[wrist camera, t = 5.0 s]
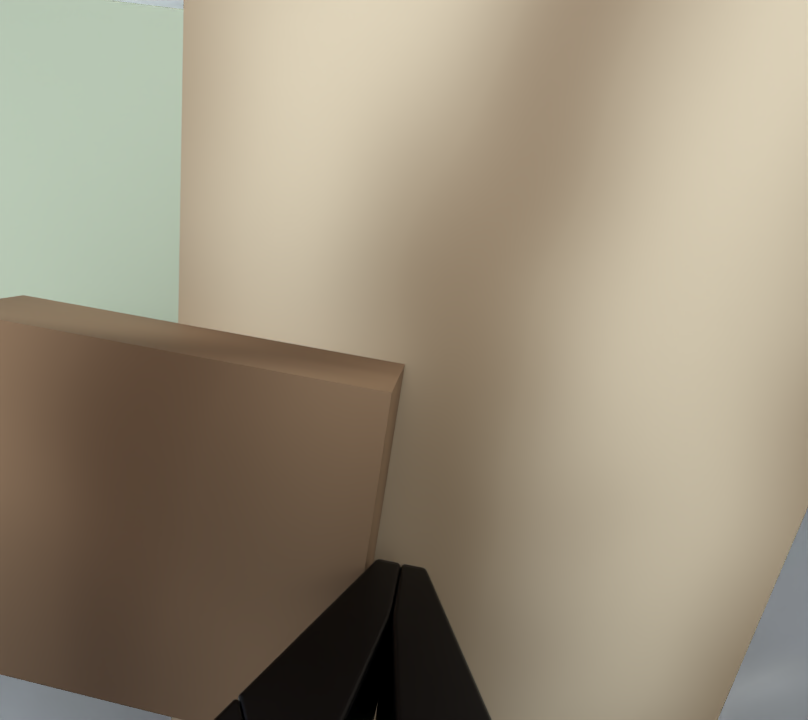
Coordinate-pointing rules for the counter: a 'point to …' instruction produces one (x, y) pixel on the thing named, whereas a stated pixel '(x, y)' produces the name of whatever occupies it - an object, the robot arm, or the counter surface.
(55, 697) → the counter surface
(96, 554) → the walnut coaster
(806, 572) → the counter surface
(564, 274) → the board
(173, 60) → the sage mat
